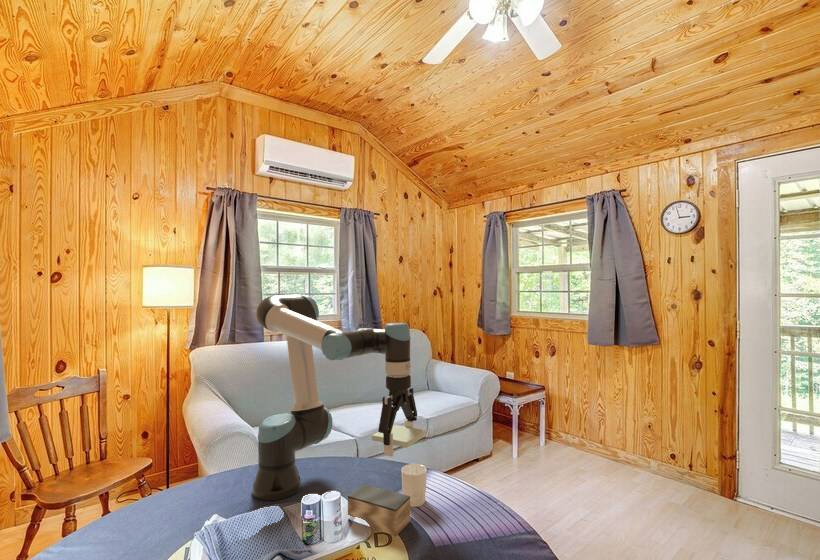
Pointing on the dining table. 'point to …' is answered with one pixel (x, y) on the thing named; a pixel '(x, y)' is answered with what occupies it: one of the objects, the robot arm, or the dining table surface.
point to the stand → (380, 508)
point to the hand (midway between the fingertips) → (399, 448)
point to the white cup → (414, 483)
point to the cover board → (402, 435)
